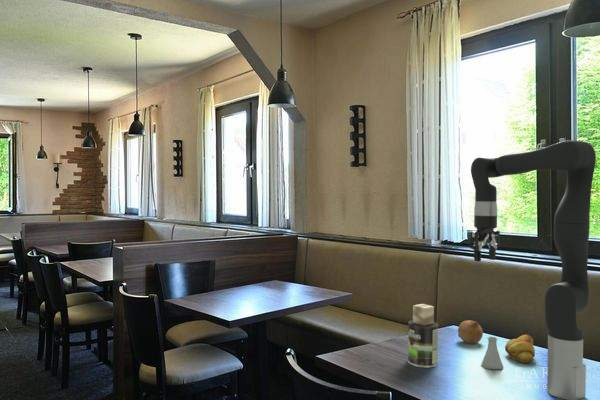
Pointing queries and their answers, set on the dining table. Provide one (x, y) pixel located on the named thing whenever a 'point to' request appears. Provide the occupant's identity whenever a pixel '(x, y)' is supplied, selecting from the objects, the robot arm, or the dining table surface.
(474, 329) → the onion
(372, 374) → the dining table surface
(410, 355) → the coffee can
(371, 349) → the dining table surface
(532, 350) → the bread roll
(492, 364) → the flask
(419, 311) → the maple block
